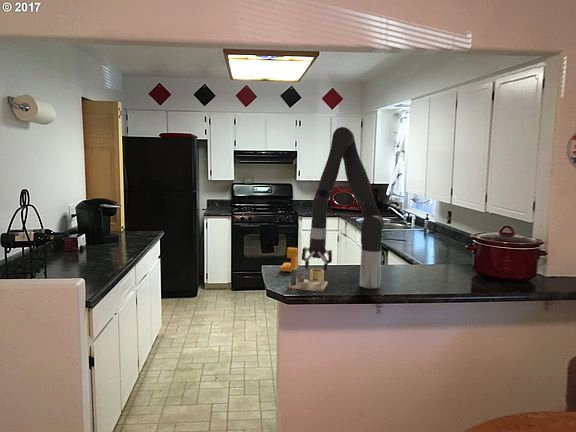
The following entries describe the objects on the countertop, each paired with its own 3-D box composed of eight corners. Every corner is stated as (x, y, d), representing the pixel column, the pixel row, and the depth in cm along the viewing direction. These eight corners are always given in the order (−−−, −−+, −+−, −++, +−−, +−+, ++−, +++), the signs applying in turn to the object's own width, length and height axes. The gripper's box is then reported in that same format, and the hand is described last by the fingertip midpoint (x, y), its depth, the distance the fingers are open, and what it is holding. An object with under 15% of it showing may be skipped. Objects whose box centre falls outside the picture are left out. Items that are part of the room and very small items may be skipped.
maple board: (327, 284, 213) (328, 267, 212) (323, 291, 202) (323, 273, 201) (294, 280, 217) (294, 264, 216) (287, 287, 206) (288, 270, 204)
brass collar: (324, 279, 221) (324, 269, 220) (321, 283, 215) (322, 272, 214) (311, 278, 222) (311, 268, 222) (308, 281, 216) (309, 271, 216)
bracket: (284, 267, 242) (285, 245, 240) (298, 268, 241) (298, 246, 239) (280, 272, 232) (281, 249, 230) (294, 273, 230) (295, 250, 228)
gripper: (334, 237, 218) (332, 270, 220) (305, 234, 221) (303, 266, 224) (331, 239, 210) (329, 273, 213) (301, 236, 214) (299, 270, 217)
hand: (316, 270), depth 218 cm, fingers open, 8 cm apart
